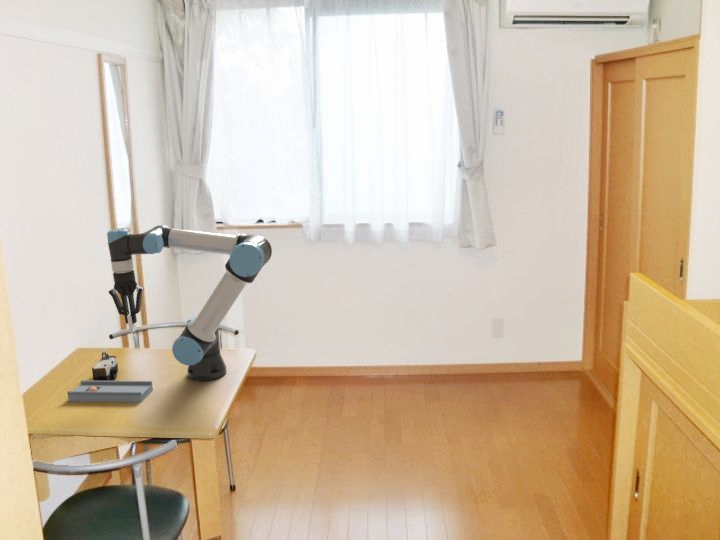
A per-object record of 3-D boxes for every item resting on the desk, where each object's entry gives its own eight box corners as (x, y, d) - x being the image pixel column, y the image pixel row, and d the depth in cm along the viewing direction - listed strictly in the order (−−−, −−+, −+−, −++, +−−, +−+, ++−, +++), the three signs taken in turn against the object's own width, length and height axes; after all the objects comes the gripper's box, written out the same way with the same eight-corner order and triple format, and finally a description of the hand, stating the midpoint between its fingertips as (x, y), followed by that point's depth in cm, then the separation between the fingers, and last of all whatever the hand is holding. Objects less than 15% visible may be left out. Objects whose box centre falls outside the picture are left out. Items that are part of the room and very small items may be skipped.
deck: (152, 390, 285) (151, 380, 284) (141, 402, 274) (140, 392, 273) (82, 389, 288) (81, 380, 287) (68, 401, 277) (67, 392, 276)
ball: (91, 384, 282) (89, 392, 283) (87, 387, 279) (85, 396, 280) (100, 386, 282) (98, 395, 283) (96, 390, 279) (94, 398, 280)
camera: (111, 384, 292) (108, 360, 289) (92, 385, 292) (88, 361, 289) (123, 370, 306) (120, 347, 304) (104, 371, 306) (101, 347, 304)
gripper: (143, 267, 281) (152, 327, 286) (109, 269, 282) (119, 329, 287) (137, 272, 274) (146, 333, 279) (102, 274, 274) (112, 335, 280)
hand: (132, 331), depth 283 cm, fingers closed
